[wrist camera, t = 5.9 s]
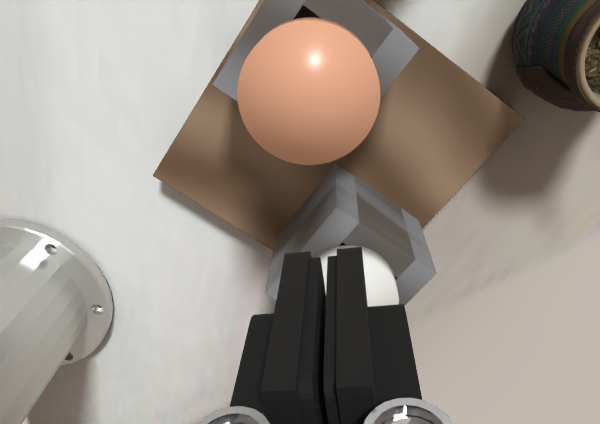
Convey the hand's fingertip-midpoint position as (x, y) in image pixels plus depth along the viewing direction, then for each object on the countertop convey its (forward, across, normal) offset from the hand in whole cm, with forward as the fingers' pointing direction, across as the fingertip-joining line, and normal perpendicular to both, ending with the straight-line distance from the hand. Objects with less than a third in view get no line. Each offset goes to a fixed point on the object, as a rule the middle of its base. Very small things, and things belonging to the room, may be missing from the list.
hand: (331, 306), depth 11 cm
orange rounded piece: (+14, +1, -3) cm, 14 cm away
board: (+21, +1, +3) cm, 22 cm away
